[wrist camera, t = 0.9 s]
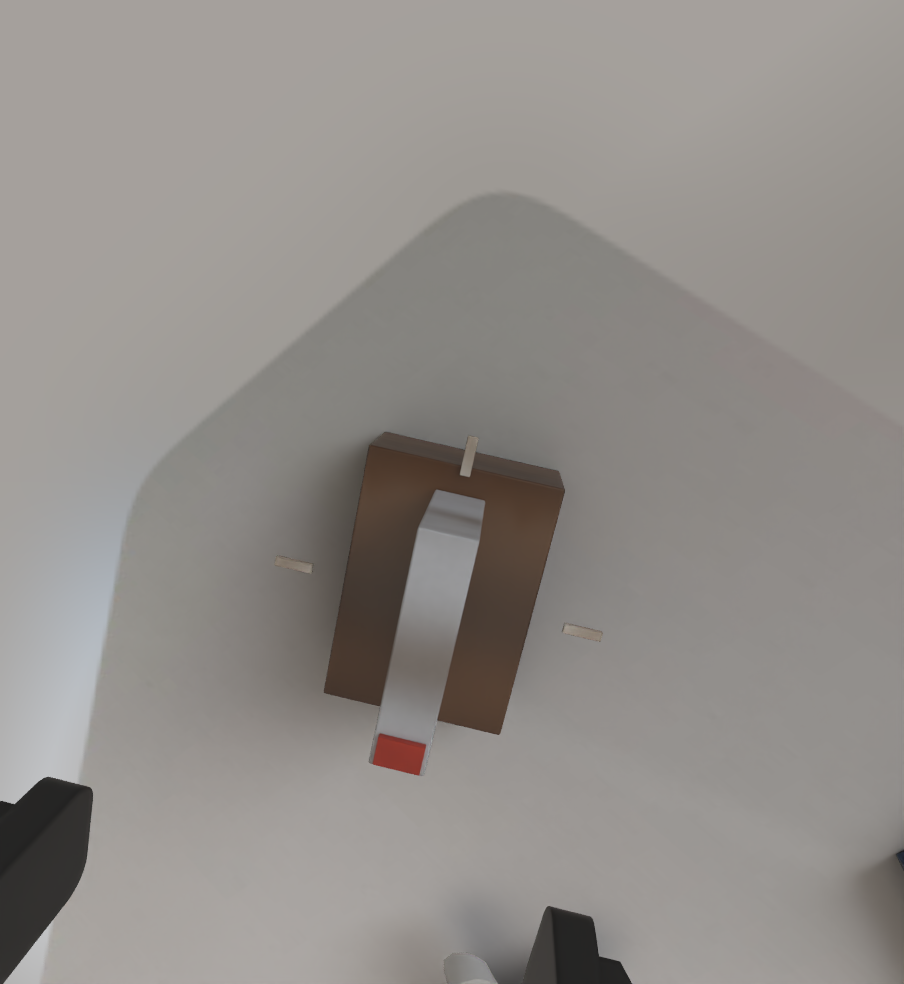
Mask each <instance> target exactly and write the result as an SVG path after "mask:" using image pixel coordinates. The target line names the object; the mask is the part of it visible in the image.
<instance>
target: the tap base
mask: <svg viewBox="0 0 904 984" xmlns="http://www.w3.org/2000/svg"><path fill="white" fill-rule="evenodd" d="M478 439H479V438H478V437H474V436H468V439H467V444H466V448H465V450H463V449H458V448H454V447H450V446H445V445H441V444H436V443H432V442H428V441H423V440H419V439H414V438H410V437H406V436H401V435H397V434H393V433H388V432H384V433H383V434H382V435H381V436H380V437H379V438H377V439H376V440H375V441H374V442H373V443H371V444H370V445H369V449H368V454H367V459H366V465H365V470H364V476H363V481H362V487H361V492H360V498H359V503H358V508H357V514H356V519H355V525H354V530H353V536H352V541H351V546H350V552H349V557H348V563H347V568H346V574H345V579H344V584H343V590H342V595H341V601H340V606H339V612H338V617H337V623H336V628H335V633H334V639H333V644H332V650H331V655H330V661H329V666H328V671H327V677H326V682H325V688H324V693H326V694H330V695H335V696H339V697H343V698H347V699H351V700H355V701H360V702H364V703H368V704H372V705H376V706H380V705H381V700H382V696H383V691H384V686H385V681H386V677H387V672H388V667H389V662H390V658H391V653H392V648H393V643H394V639H395V634H396V629H397V624H398V619H399V615H400V610H401V605H402V600H403V596H404V591H405V586H406V581H407V577H408V572H409V567H410V562H411V558H412V553H413V548H414V543H415V539H416V534H417V529H418V527H419V525H420V522H421V520H422V518H423V516H424V514H425V512H426V509H427V507H428V505H429V503H430V501H431V499H432V496H433V494H434V492H435V490H441V491H445V492H449V493H454V494H458V495H463V496H467V497H471V498H476V499H480V500H484V501H485V507H484V514H483V520H482V527H481V534H480V541H479V546H478V550H477V554H476V558H475V563H474V567H473V571H472V575H471V580H470V584H469V588H468V592H467V596H466V601H465V605H464V609H463V613H462V618H461V622H460V626H459V630H458V634H457V639H456V643H455V647H454V651H453V656H452V660H451V664H450V668H449V672H448V677H447V681H446V685H445V689H444V694H443V698H442V702H441V706H440V710H439V715H438V719H437V720H439V721H443V722H447V723H451V724H455V725H459V726H464V727H468V728H472V729H476V730H480V731H484V732H488V733H493V734H497V735H500V733H501V729H502V725H503V722H504V718H505V714H506V710H507V707H508V703H509V699H510V695H511V692H512V688H513V684H514V680H515V677H516V673H517V669H518V665H519V662H520V658H521V654H522V650H523V647H524V643H525V639H526V635H527V632H528V628H529V624H530V620H531V617H532V613H533V609H534V605H535V601H536V598H537V594H538V590H539V586H540V583H541V579H542V575H543V571H544V568H545V564H546V560H547V556H548V553H549V549H550V545H551V541H552V538H553V534H554V530H555V526H556V523H557V519H558V515H559V511H560V508H561V504H562V500H563V496H564V493H565V489H564V486H563V483H562V479H561V476H560V473H559V471H555V470H551V469H546V468H542V467H538V466H533V465H529V464H524V463H520V462H516V461H511V460H507V459H502V458H498V457H494V456H489V455H485V454H480V453H476V448H477V443H478ZM275 566H280V567H284V568H288V569H292V570H297V571H301V572H305V573H309V574H311V573H312V572H313V566H314V564H313V563H308V562H304V561H300V560H295V559H291V558H287V557H283V556H278V555H277V556H276V559H275ZM562 633H565V634H569V635H573V636H577V637H582V638H586V639H590V640H595V641H599V642H600V641H601V638H602V634H603V632H602V631H598V630H594V629H590V628H585V627H581V626H577V625H573V624H568V623H564V626H563V630H562Z"/></svg>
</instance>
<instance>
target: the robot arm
mask: <svg viewBox="0 0 904 984" xmlns="http://www.w3.org/2000/svg"><path fill="white" fill-rule="evenodd" d="M92 802H93V791H92V789H91V788H90V787H87V786H83V785H79V784H75V783H71V782H67V781H63V780H59V779H55V778H51V777H46V778H43V779H42V780H40V781H39V782H38V783H37V784H36V785H35V786H34V787H33V788H31V789H30V790H29V791H28V792H27V793H26V794H25V795H24V796H23V797H22V798H21V799H20V800H19V801H18V802H17V803H16V804H11V803H7V802H3V801H0V984H3V983H4V982H5V980H6V979H7V978H8V977H9V975H10V974H11V973H12V972H13V970H14V969H15V968H16V966H17V965H18V964H19V963H20V961H21V960H22V959H23V957H24V956H25V955H26V954H27V952H28V951H29V950H30V948H31V947H32V946H33V944H34V943H35V942H36V941H37V939H38V938H39V937H40V936H41V934H42V933H43V932H44V930H45V929H46V928H47V927H48V925H49V924H50V923H51V922H52V920H53V919H54V918H55V916H56V915H57V914H58V913H59V911H60V910H61V909H62V907H63V906H64V905H65V904H66V902H67V901H68V900H69V898H70V897H71V895H72V894H73V892H74V890H75V888H76V887H77V885H78V883H79V880H80V878H81V876H82V873H83V871H84V867H85V864H86V859H87V851H88V841H89V832H90V822H91V812H92ZM523 984H632V983H631V981H630V979H629V977H628V975H627V974H626V972H625V970H624V968H623V966H622V964H621V963H620V962H619V961H615V960H611V959H607V958H603V957H599V954H598V947H597V940H596V933H595V926H594V922H593V919H592V918H591V917H590V916H586V915H582V914H578V913H574V912H570V911H566V910H562V909H558V908H554V907H550V906H548V907H547V908H546V909H545V912H544V914H543V917H542V921H541V924H540V927H539V930H538V933H537V936H536V940H535V943H534V946H533V949H532V952H531V955H530V959H529V962H528V965H527V968H526V971H525V975H524V979H523Z"/></svg>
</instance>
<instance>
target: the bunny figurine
mask: <svg viewBox="0 0 904 984" xmlns="http://www.w3.org/2000/svg"><path fill="white" fill-rule="evenodd" d="M444 974H445V977H446V980H447V983H448V984H498V983H497V981H496V979H495V978H494V976H493V975H492V973H491V971H490V969H489V968H488V966H487V964H486V962H485V961H483V960H482V959H480V958H478V957H477V956H475V955H472V954H469V953H452V954H451V955H450V956H448V957H447V958H446V959H445V960H444Z"/></svg>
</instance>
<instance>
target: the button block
mask: <svg viewBox="0 0 904 984" xmlns="http://www.w3.org/2000/svg"><path fill="white" fill-rule="evenodd" d="M897 858H898V860H899V862H900V864H901V866H902V868H903V870H904V852H901V853H898V854H897Z"/></svg>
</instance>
